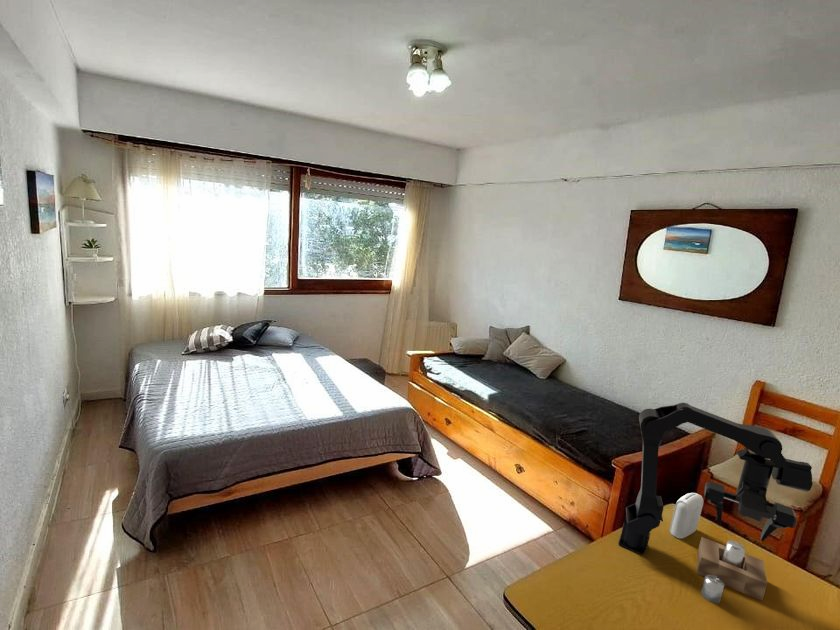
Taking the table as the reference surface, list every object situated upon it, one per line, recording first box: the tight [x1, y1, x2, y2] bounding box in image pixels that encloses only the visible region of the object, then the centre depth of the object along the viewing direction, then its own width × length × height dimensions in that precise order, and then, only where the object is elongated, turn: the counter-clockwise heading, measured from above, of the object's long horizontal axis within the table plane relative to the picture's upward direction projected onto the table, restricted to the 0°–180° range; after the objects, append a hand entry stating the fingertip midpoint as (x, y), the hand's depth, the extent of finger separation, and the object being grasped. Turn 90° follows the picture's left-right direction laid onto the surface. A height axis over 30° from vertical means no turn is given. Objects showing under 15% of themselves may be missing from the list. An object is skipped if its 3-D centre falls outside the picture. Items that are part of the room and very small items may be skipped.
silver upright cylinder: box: [722, 540, 746, 568], centre depth 118 cm, size 4×4×9 cm
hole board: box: [696, 536, 768, 602], centre depth 119 cm, size 14×10×5 cm
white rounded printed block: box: [669, 492, 704, 539], centre depth 134 cm, size 10×4×12 cm, turn 123°
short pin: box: [700, 575, 725, 604], centre depth 111 cm, size 4×4×4 cm
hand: (739, 532), depth 116 cm, fingers open, 9 cm apart
